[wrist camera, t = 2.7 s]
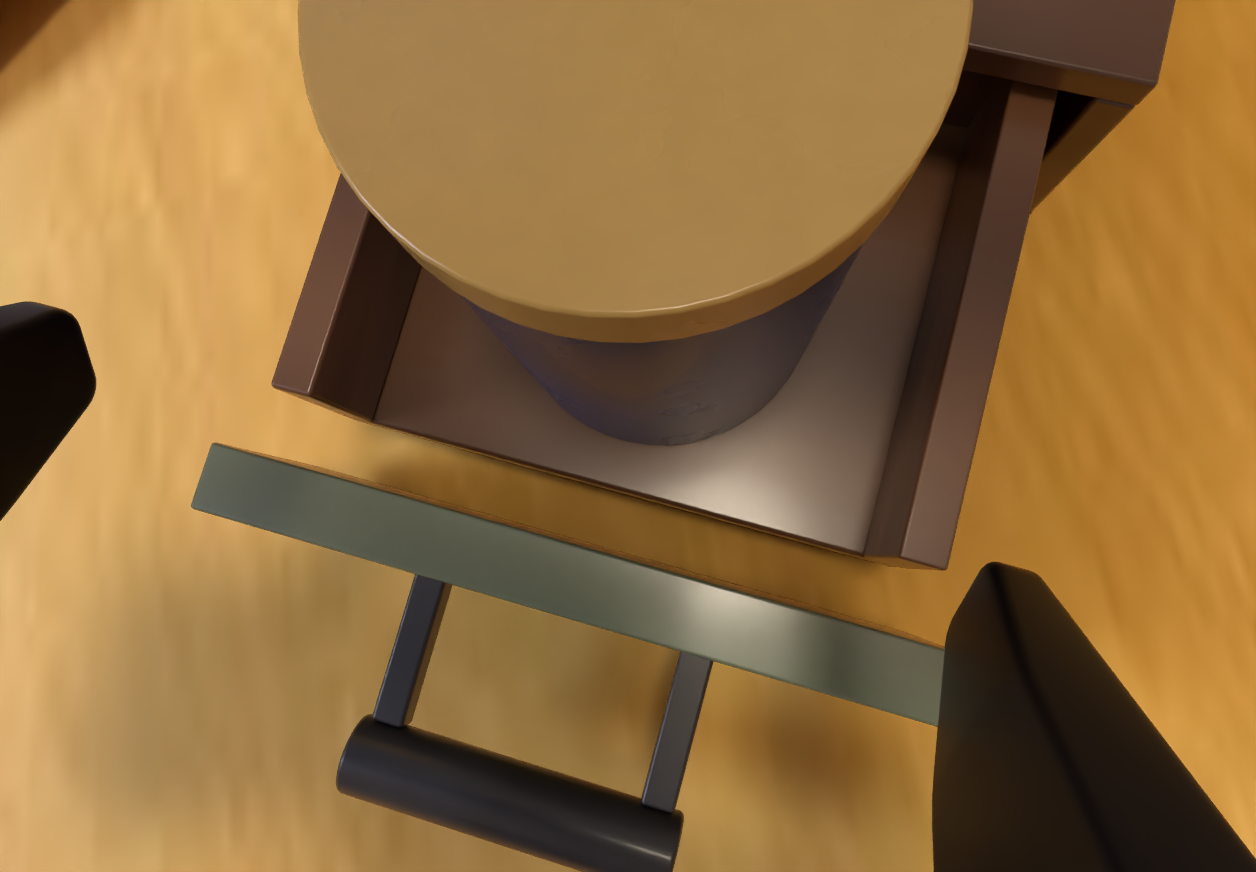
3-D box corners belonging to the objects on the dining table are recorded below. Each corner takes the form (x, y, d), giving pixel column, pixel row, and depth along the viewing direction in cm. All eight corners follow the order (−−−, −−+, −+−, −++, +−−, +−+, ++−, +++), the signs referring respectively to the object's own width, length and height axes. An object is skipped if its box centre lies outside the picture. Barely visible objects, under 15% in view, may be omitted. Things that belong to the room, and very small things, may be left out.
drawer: (843, 898, 17) (891, 1009, 13) (238, 706, 18) (107, 750, 14) (1023, 133, 19) (1116, 14, 15) (461, 12, 20) (401, -127, 16)
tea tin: (669, 515, 17) (638, 466, 7) (450, 308, 18) (162, 18, 8) (883, 288, 18) (1126, -50, 8) (656, 96, 19) (615, -424, 9)
